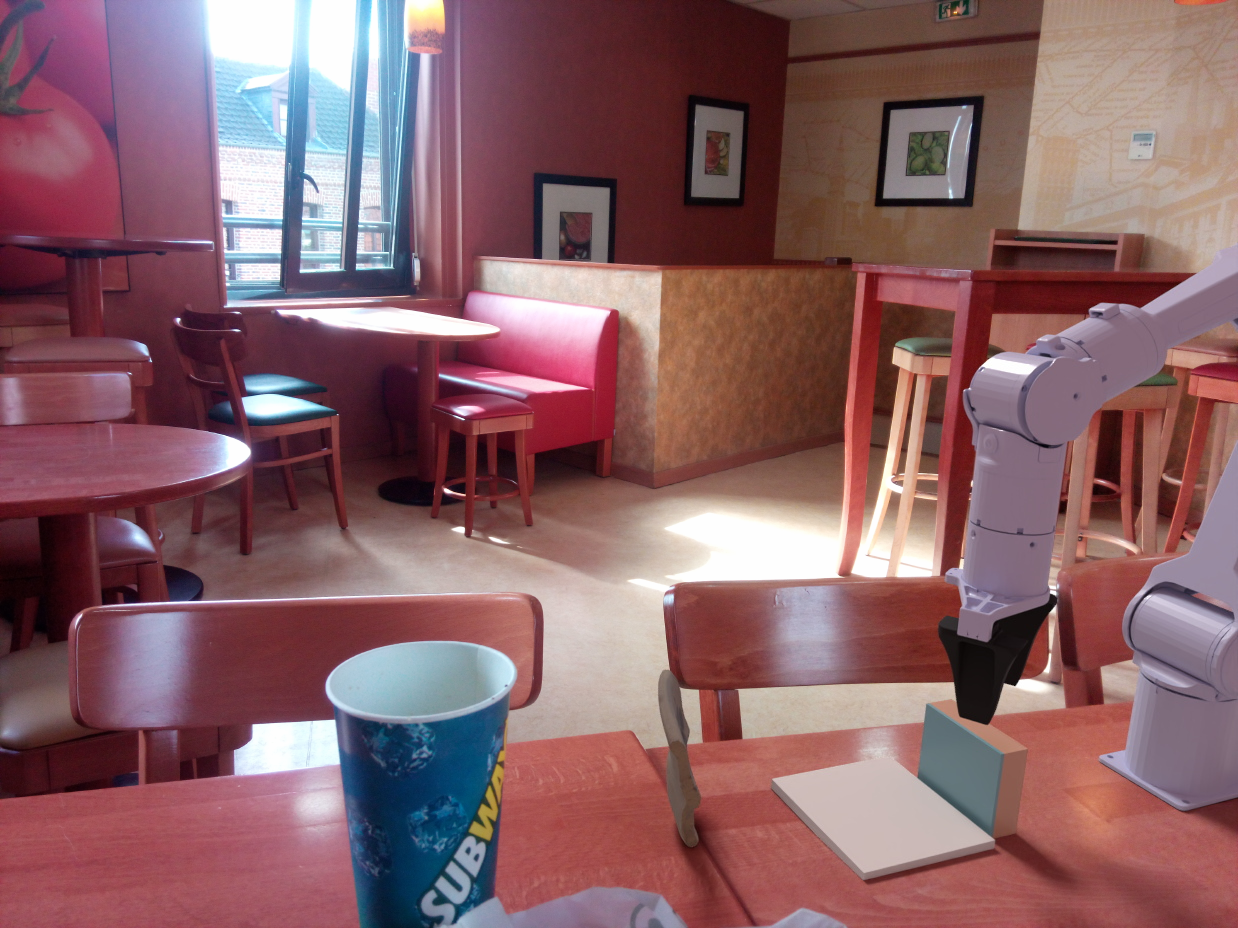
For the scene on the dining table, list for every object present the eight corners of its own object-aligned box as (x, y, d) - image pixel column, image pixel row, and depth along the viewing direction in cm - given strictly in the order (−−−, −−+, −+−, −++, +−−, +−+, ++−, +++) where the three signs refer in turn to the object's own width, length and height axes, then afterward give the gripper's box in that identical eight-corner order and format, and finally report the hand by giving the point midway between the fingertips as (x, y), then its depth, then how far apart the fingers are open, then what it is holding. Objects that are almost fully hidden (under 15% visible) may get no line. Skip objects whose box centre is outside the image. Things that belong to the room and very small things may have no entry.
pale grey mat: (888, 764, 77) (889, 755, 77) (993, 849, 66) (995, 839, 66) (770, 787, 73) (771, 778, 73) (862, 883, 62) (863, 872, 62)
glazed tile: (941, 777, 75) (951, 698, 74) (1015, 834, 68) (1028, 748, 67) (916, 782, 74) (926, 703, 73) (988, 841, 67) (1001, 754, 66)
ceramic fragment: (701, 862, 63) (710, 730, 61) (655, 861, 63) (663, 728, 61) (687, 777, 74) (694, 661, 72) (648, 776, 74) (654, 660, 72)
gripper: (981, 494, 74) (963, 652, 77) (921, 535, 62) (902, 719, 65) (1078, 510, 69) (1054, 677, 72) (1032, 557, 58) (1007, 753, 61)
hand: (989, 699), depth 69 cm, fingers open, 7 cm apart
